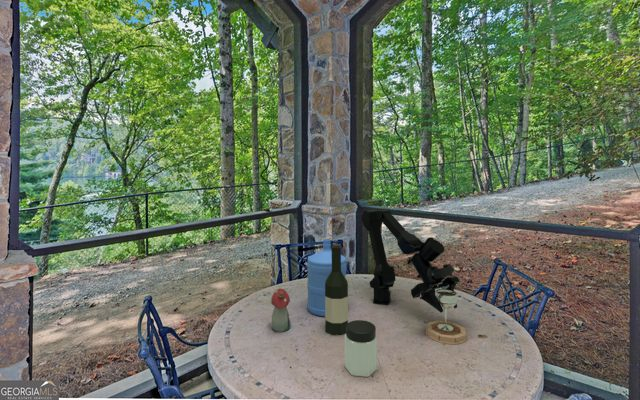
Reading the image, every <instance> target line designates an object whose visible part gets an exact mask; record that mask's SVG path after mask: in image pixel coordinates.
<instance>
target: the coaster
mask: <svg viewBox="0 0 640 400" xmlns="http://www.w3.org/2000/svg"><path fill="white" fill-rule="evenodd" d="M439 324H445V320H433V321H430V322H427V323H426V328H425V334H426V336H427V337H428V338H429V339H431V340H432V341H435V342H437V343H440V344H444V345H445V344H446V345H461V344H464V343H466V342H467V340H468V334H467V332H466V328H465V327H464V326H462V325H459V324H457V323H456V322H452V321H450V320H449V321H448V320H446V324H447V325H450V326H452V327H453V330H451V331H445V330H441V329H439V328H438V325H439Z"/></svg>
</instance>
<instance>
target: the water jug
mask: <svg viewBox="0 0 640 400" xmlns="http://www.w3.org/2000/svg"><path fill="white" fill-rule="evenodd" d="M331 245H332V244H331V239H323V240H322V250H320V251H317V252H316V253H314V254H312V255H309V256H308V258H307V265H306V266H307V268H306V269H307V310H308V312H310V313H311V314H313V315H315V316H318V317H325V281H326V279H327V278H328V276H329V274H330V273H331V271H332V246H331ZM347 266H348V265H347V258H346V257H345V255H342V254H341V272H342V273H343V275H344V277H345V278H346V276H347Z"/></svg>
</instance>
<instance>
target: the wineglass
mask: <svg viewBox="0 0 640 400" xmlns="http://www.w3.org/2000/svg"><path fill="white" fill-rule="evenodd" d="M435 295H436V297H437V299H438V301H439V303H440V305H441V307H442V309H443V310H444V321H445V324H439V325H438V328H439V329H441V330H445V331H451V330H453V327H452V326H450V325H447V324H446V321H448V320H447V318H448V311H449V309H452V308H454V307H453V306H455V305H456V303H458V297H457V296H458V292H457V291H455V290H454V291H452V290H448V289H441V288H438V289H435Z"/></svg>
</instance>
